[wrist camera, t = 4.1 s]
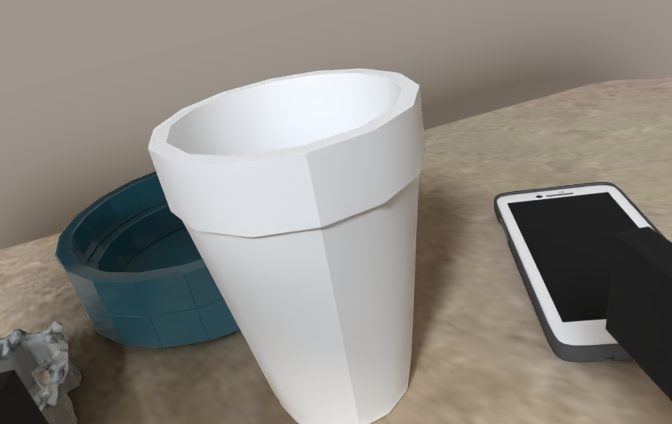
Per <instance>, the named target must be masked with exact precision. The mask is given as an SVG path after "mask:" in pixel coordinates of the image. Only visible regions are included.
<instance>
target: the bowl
mask: <svg viewBox="0 0 672 424" xmlns="http://www.w3.org/2000/svg"><path fill="white" fill-rule="evenodd" d="M55 256H56V258H57V260H58V262H59V264H60V266H61V268H62V270H63V272H64V274H65V276H66V278H67V280H68V282H69V284H70V286H71V288H72V290H73V291H74V293H75V295H76V297H77V299H78V301H79V303H80V305H81V307H82V309H83V311H84V313H85V315H86V317H87V318H88V320H89V321H90V323H91V325H92V326H93V328H94V329H95V331H96V332H97V333H98V334H99V335H101V336H104V337H106V338H108V339H110V340H112V341H115V342H117V343H119V344H121V345H123V346H124V345H125V346H136V347H150V348H169V347H175V346H181V345H188V344H194V343H199V342H205V341H209V340H210V341H211V340H213V339H216V338H219V337H222V336H226V335H228V334H231V333H233V332H236V331H239V330H240V328H239V326H238V325H237V323H236V321H235V319H234V317H233V315H232V313H231V311H230V309H229V308H228V306H227V304H226V302H225V300H224V298H223V296H222V294H221V292H220V291H219V289H218V287H217V285H216V283H215V281H214V279H213V277H212V276H211V274H210V272H209V270H208V268H207V266H206V264H205V262H204V260H203V259H202V257H201V255H200V253H199V251H198V249H197V247H196V245H195V243H194V242H193V240H192V238H191V236H190V234H189V232H188V230H187V228H186V227H185V225H184V223H183V221H182V220H181V219H180V218H179V217H178V216H176V215H175V214H174V213H172V212H171V211H170V208H169V205H168V202H167V200H166V197H165V194H164V192H163V189H162V186H161V183H160V181H159V178H158V175H157V172H156V171H155V172H153V173H150V174H148V175H145V176H143V177H141V178H138V179H135V180H133V181H130V182H129V183H127V184H125V185H123V186H121V187H119V188H117V189H116V190H114V191H112V192H110V193H108V194H107V195H105V196H103V197H101V198H99V199H98V200H97V201H96V202H94V203H93V204H92V205H90V206H89V207H88V208H86V209H85V210H84V211H82V212H81V213H80V214H78V215H77V216H76V217H75V218H74V219H73V220H72V222H71V223H70V224H69V225H68V227H67V228H66V229H65V230H64V231H63V233H62V234H61V235H60V236H59V240H58V244H57V249H56V253H55Z"/></svg>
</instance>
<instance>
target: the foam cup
mask: <svg viewBox="0 0 672 424" xmlns="http://www.w3.org/2000/svg"><path fill="white" fill-rule="evenodd" d="M148 151H149V153H150V155H151V159H152V162H153V164H154V167H155V170H156V172H157V175H158V178H159V181H160V183H161V186H162V189H163V192H164V194H165V197H166V200H167V202H168V205H169V208H170V211H171V212H172V213H174V214H175V215H176V216H178V217H179V218H180V219H181V220H182V221H183V223H184V225H185V227H186V228H187V230H188V232H189V234H190V236H191V238H192V240H193V242H194V243H195V245H196V247H197V249H198V251H199V253H200V255H201V257H202V259H203V260H204V262H205V264H206V266H207V268H208V270H209V272H210V274H211V276H212V277H213V279H214V281H215V283H216V285H217V287H218V289H219V291H220V292H221V294H222V296H223V298H224V300H225V302H226V304H227V306H228V308H229V309H230V311H231V313H232V315H233V317H234V319H235V321H236V323H237V325H238V326H239V328H240V330H241V332H242V334H243V336H244V338H245V340H246V341H247V343H248V345H249V347H250V349H251V351H252V353H253V355H254V357H255V358H256V360H257V362H258V364H259V366H260V368H261V370H262V372H263V374H264V375H265V377H266V379H267V381H268V383H269V385H270V387H271V389H272V390H273V392H274V394H275V396H276V397H277V398H278V399H279V402H280V405H281V406H282V407H283V408H284V409H285V410H286V411H287V412H288V413H289V414H290V415H291V416H292V418H293V419H294V420H295V421H296V422H297V423H299V424H370V423H372V422H374V421H376V420H378V419H380V418H381V417H383V416H385V415H387V414H389V413H390V412H391V411H392V409H393V408H394V407H395V406H396V404H397V403H398V402H399V400H400V399H401V398H402V397H403V395H404V394H405V393H406V391H407V389H408V382H409V375H410V368H411V365H410V363H411V355H412V331H413V306H414V282H415V257H416V233H417V209H418V184H419V175H420V173H421V168H422V163H423V158H424V153H425V139H424V128H423V117H422V106H421V96H420V85H418V84H417V83H415V82H413V81H412V80H410V79H408V78H407V77H405V76H404V75H402V74H400V73H396V72H388V71H380V70H371V69H364V68H363V69H343V70H324V71H314V72H309V73H302V74H296V75H291V76H285V77H279V78H273V79H268V80H264V81H261V82H258V83H254V84H250V85H246V86H243V87H239V88H236V89H232V90H229V91H225V92H222V93H219V94H217V95H215V96H212V97H210V98H207V99H205V100H203V101H201V102H198V103H196V104H193V105H191V106H188V107H186V108H183V109H181V110H180V111H179V112H177V113H176V114H174V115H173V116H172V117H170V118H169V119H167V120H166V121H164V122H163V123H161V124H160V125H159V126H157V127H156V128H154V130H153V133H152V136H151V139H150V142H149V145H148Z"/></svg>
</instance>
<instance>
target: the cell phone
mask: <svg viewBox="0 0 672 424" xmlns="http://www.w3.org/2000/svg"><path fill="white" fill-rule="evenodd" d="M494 209H495V213H496V216H497V218H498V221H499V222H500V223H502V226H503V228H504V230H505V233H506V235H507V238H508V245H509V247H510V250H511V252H512V254H513V257H514V259H515V262H516V264H517V267H518V269H519V272H520V274H521V277H522V279H523V281H524V284H525V286H526V289H527V291H528V294H529V296H530V299H531V301H532V304H533V306H534V308H535V311H536V313H537V316H538V318H539V321H540V323H541V326H542V328H543V331H544V333H545V335H546V338H547V340H548V343H549V344H550V346H551V347H552V349H553V351H554V352H555V354H556V355H557V356H558V357H559V358H561V359H563V360H565V361H570V362H597V361H602V360H604V359H612V360H628V359H632V358H631V356H630V355H629V354H628V353H627V352H626V351H625V350H624V349H623V348H622V347H621V346H620V345H619V343H618V342H617V341H616V340H615V339H614V338H613V337H612V336H611V335H610V334H609V333H608V331H607V330H606V329H605V328H606V318H607V308H608V298H609V288H610V279H611V269H612V259H613V249H614V239H615V233H620V232H624V231H629V230H633V229H638V228H642V227H646V226H649V227H650V228H652V229H653V230H654V231H656V232H657V233H659V234H660V235H662V234H661V233H660V231H659V230H658V229H657V228H656V227H655V226H654V225H653V224H652V223H651V222H650V221H649V220H648V218H647V217H646V216H645V215H644V214H643V213H642V212H641V211H640V210H639V209H638V208H637V206H636V205H635V204H634V203H633V202H632V201H631V200H630V199H629V198H628V197H627V196H626V194H625V193H624V192H623V191H622V190H621V189H619V188H618V187H617V186H616V185H614V184H612V183H609V182H594V183H584V184H575V185H566V186H558V187H549V188H540V189H531V190H522V191H514V192H507V193H501V194H498V195H497V196H496V197H495V198H494ZM662 236H663V235H662ZM663 237H664V236H663ZM664 238H665V237H664Z"/></svg>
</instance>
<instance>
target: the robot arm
mask: <svg viewBox="0 0 672 424" xmlns="http://www.w3.org/2000/svg"><path fill="white" fill-rule="evenodd" d="M605 329H606V330H607V331H608V333H609V334H610V335H611V336H612V337H613V338H614V339H615V340H616V341H617V342H618V343H619V345H620V346H621V347H622V348H623V349H624V350H625V351H626V352H627V353H628V354H629V355H630V356H631V358H632V359H633V360H634V361H635V362H636V363H637V364H638V365H639V366H640V367H641V368H642V369H643V371H644V372H645V373H646V374H647V375H648V376H649V377H650V378H651V379H652V380H653V381H654V382H655V384H656V385H657V386H658V387H659V388H660V389H661V390H662V391H663V392H664V393H665V394H666V395H667V397H668V398H669V399H670V400H671V401H672V243H671V242H670V241H669V240H667V239H666V238H664V237H663V236H662V235H660V234H659V233H657V232H656V231H654V230H653V229H652V228H650V227H649V226H646V227H642V228H638V229H633V230H629V231H624V232H620V233H615V239H614V249H613V259H612V269H611V279H610V288H609V298H608V308H607V318H606V328H605ZM0 424H49V423H48V422H47V420H46V418H45V417H44V415H43V414H42V412H41V411H40V409H39V407H38V406H37V404H36V403H35V401H34V400H33V398H32V396H31V395H30V393H29V392H28V390H27V389H26V387H25V385H24V384H23V382H22V381H21V379H20V377H19V376H18V374H17V373H16V371H15V370H10V371H5V372H1V373H0Z"/></svg>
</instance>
